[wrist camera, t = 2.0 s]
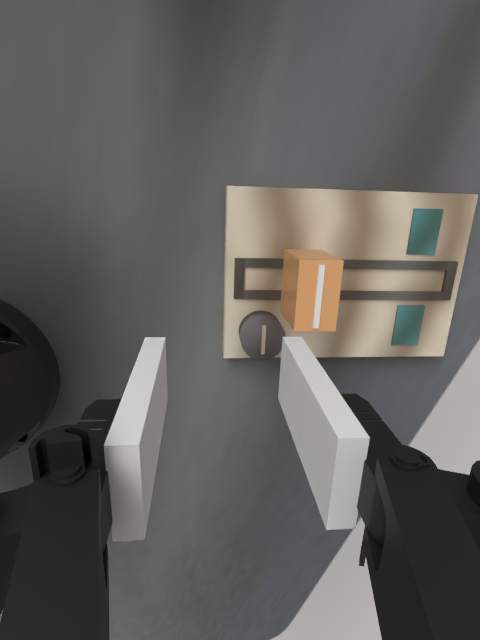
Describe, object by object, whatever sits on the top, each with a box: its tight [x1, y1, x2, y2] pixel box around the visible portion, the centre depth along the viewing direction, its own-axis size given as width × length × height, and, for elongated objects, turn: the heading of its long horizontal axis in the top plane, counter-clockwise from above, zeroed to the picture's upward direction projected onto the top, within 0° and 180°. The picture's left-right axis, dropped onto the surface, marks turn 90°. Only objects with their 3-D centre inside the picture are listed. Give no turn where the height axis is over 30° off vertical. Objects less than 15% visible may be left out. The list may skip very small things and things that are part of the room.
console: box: [223, 186, 478, 360], centre depth 32 cm, size 20×14×4 cm
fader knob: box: [280, 249, 344, 331], centre depth 29 cm, size 3×5×5 cm, turn 178°
